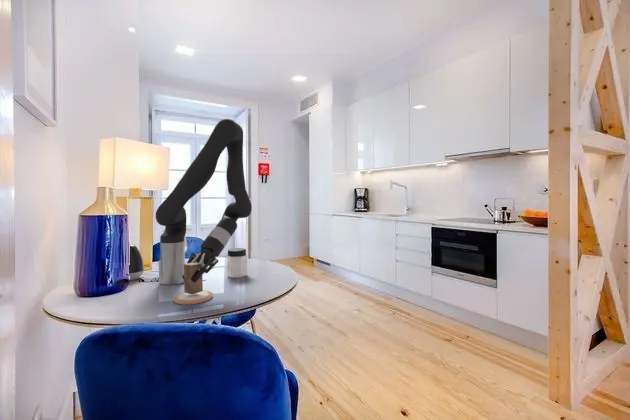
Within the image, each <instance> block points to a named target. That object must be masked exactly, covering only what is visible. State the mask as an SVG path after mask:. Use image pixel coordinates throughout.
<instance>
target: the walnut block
mask: <svg viewBox="0 0 630 420" xmlns="http://www.w3.org/2000/svg"><path fill="white" fill-rule="evenodd" d="M199 266H200V264H199V263H197V262H194V263H193V262H192V263H187V262H186V263H185V264H184V282H183V288H184V289H183V290H184V291H183V292H185V293H189V294H195V293H198V292H202V291H203V290H204V289H203V287H204V286H203V274H201V276H200V277H199V279H198V280H197V281H196V282H195V283H194V282H192V281H191V280H190V279H191V277H192V276H193V275H194V273H195V272H196V270H197V269H198V267H199ZM197 271H198V270H197Z"/></svg>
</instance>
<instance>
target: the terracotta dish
mask: <svg viewBox="0 0 630 420" xmlns="http://www.w3.org/2000/svg"><path fill="white" fill-rule="evenodd" d="M212 297H214V294H213V292H212V291H209V290H204V289H203V291H202V292H198V293H195V294H189V293H185V292H184V291H183V292H180V293H177V294H176V295H174V296H173V303H174V304H177V305H185V306H188V305H197V303H199V304H202V302H203V303H205V301H206V302H208V300H209V301H210V300H212V299H213V298H212ZM211 298H212V299H211Z"/></svg>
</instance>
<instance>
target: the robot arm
mask: <svg viewBox="0 0 630 420" xmlns="http://www.w3.org/2000/svg"><path fill="white" fill-rule="evenodd" d="M243 144H244V130H243V128H242V126H241V125H240V124H239V123H237V122H236V121H234V120H233V119H231V118H224V119H220V120H219V121H218V122H217V124H216V125H215V127H214V128H213V130H212V132H211V134H210V136H209V137H208V139H207V140H206V143H205V144H204V145H203V147H202V148H201V150H200V151H199V153H198V154H197V156H196V157H195V159H194V160H193V161H192V162H191V164H190V165H189V167H188V168H187V169H186V171H185V172H184V174H183V175H182V176H181V178H180V179H179V181H178V183H177V184H176V186H175V187H174V188H173V190H172V191H171V193H170V194H169V195H167V197H166V198H165V200H163V201H162V202H161V204H160V205H159V206H158V207H157V210H156V211H155V220H156V223H158V225H160V226H162V227H163V226H164V228H165V229H164V231H163V233H162V234H161V235H160V237H159V242H160V244H159V245H160V259H159V260H158V284H161V285H165V286H173V285H179V284H184V264H187V263H192V262H193V263H194V262H197V263H199V264H200V266H199V267H198V269H197V270H198V271H197V270H196V272H195V273H194V275H193V276H192V277H191V279H190V280H191V281H192V282H194V283H195V282H196V281H197V280H198V279H199V277H200V276H201V274H202V275H203V274H208V273H209V272H210V271H211V270H212V269H214V267H215V266H216V265H217V264H218V263H219V259H218V258H217V257H219V256H220V254H221V253H222V252H223V250H224V249H225V248H226V245H228V243H229V241H230V239H231V237H232V236H233V234H235V232H236V231H237V230H238V229H237V228H238V223H237V221H238V220H239V219H244V218H245V219H246V218H248V217H249V216H250V215H251V214H252V208H253V207H252V202H251V200H250V197H249V195H248V192H247V189H246V188H247V187H246V182H245V181H246V179H245V172H244V160H243V159H244V156H243V152H244V151H243V147H244V145H243ZM225 149H227V150H226V151H227V166H226V183H227V191H228V194H229V195H230V196H233V198H234V200H235V201H232V202H230V203H229V204H228V205H227V206H226V208H225V210H224V212H223V214H222V216H221V219H220V220H219V222H218V223H217V224H216V226H215V227H214V228H213V229H212V230H211V231H210V232H209V234H208V235H207V237H206V238H205V239H204V240H203V242H202V243H201V245H200V248H201V249H200V250H199V251H198V252H197V253H195V252H192V253H191V255H190V257H188V260H187V262H186V261H185V260H186V257H185V254H186V252H185V248H184V237H185V236H186V233H187V212H186V209H185V205H186V204H187V203H188V202H189V200H191V199H192V198H193V197H194V196H195V195H197V194H198V193H199V192H201V190H203V188H205V186H206V185H207V184H208V183H209V181H210V180H211V178H212V177H213V176H214V173H215V172H216V168H217V166H218V161H219V158H220V157H221V154H222V153H223V152H224V150H225Z"/></svg>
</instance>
